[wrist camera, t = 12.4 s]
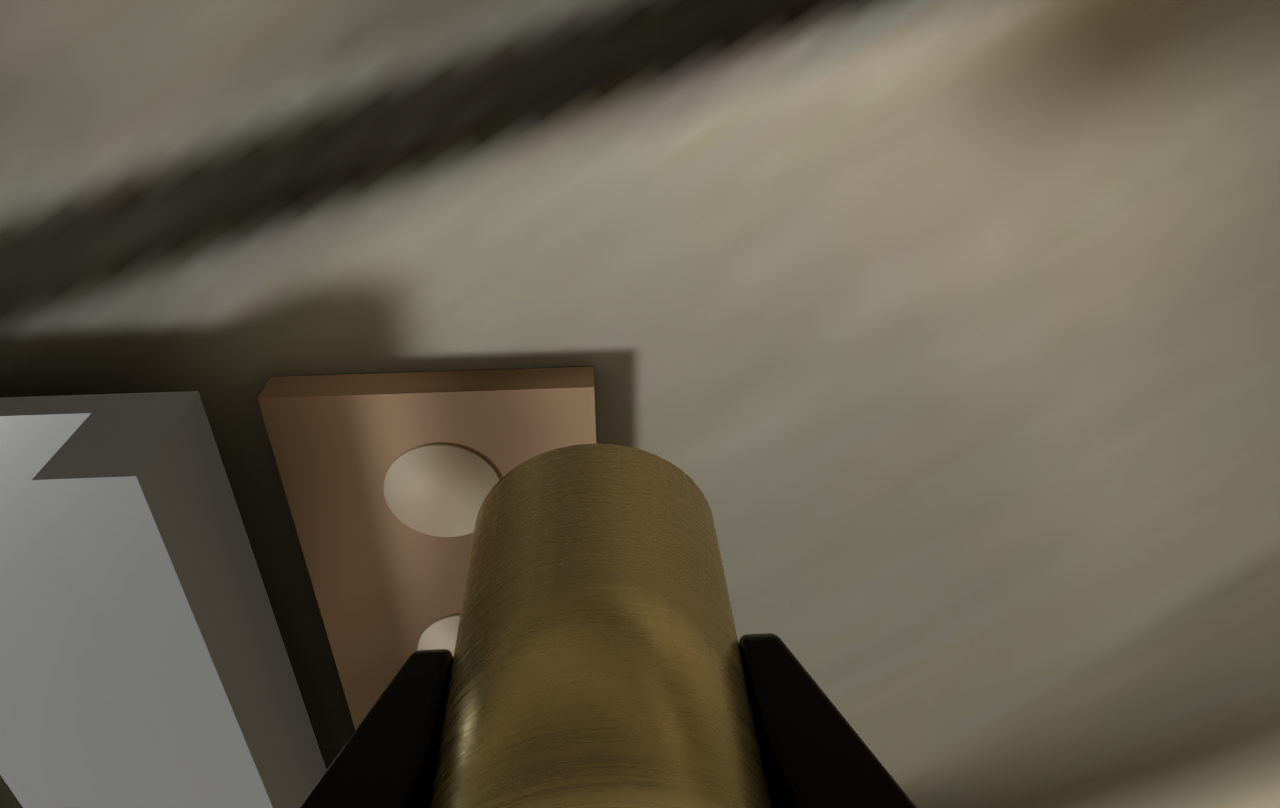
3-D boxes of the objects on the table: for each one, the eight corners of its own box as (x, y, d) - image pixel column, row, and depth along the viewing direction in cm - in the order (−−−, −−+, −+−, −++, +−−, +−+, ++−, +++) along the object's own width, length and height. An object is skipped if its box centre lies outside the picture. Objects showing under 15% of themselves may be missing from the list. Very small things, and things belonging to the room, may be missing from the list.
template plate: (593, 366, 21) (594, 389, 20) (609, 788, 31) (610, 817, 30) (270, 376, 21) (255, 400, 20) (389, 801, 30) (383, 830, 30)
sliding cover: (198, 390, 19) (136, 476, 17) (353, 849, 29) (330, 947, 27) (-213, 404, 19) (-346, 494, 16) (90, 864, 29) (40, 966, 26)
